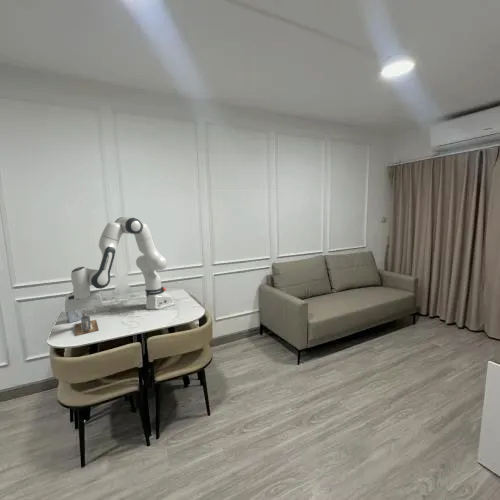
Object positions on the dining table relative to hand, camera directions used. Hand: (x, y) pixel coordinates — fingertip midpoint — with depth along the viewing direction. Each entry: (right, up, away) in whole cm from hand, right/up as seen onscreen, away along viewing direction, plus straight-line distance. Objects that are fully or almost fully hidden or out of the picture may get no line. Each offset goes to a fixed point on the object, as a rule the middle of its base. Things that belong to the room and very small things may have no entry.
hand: (85, 314), depth 176 cm
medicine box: (-16, -8, +15) cm, 23 cm away
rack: (-1, -9, +2) cm, 9 cm away
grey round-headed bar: (0, -8, +1) cm, 8 cm away
